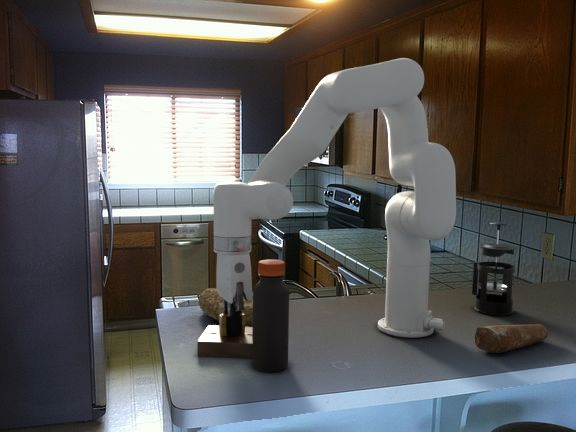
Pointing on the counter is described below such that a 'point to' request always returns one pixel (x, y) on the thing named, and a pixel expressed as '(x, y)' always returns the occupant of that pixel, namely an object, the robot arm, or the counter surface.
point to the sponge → (213, 305)
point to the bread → (508, 337)
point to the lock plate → (225, 343)
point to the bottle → (270, 318)
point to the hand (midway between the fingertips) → (232, 332)
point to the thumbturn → (223, 324)
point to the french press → (495, 302)
